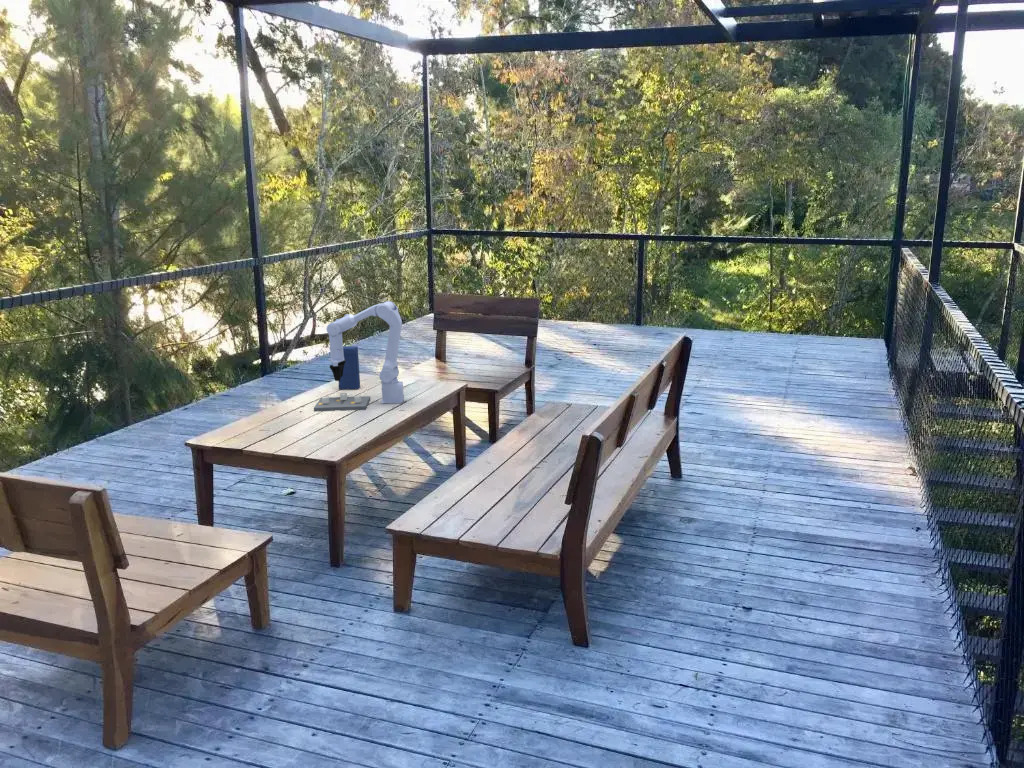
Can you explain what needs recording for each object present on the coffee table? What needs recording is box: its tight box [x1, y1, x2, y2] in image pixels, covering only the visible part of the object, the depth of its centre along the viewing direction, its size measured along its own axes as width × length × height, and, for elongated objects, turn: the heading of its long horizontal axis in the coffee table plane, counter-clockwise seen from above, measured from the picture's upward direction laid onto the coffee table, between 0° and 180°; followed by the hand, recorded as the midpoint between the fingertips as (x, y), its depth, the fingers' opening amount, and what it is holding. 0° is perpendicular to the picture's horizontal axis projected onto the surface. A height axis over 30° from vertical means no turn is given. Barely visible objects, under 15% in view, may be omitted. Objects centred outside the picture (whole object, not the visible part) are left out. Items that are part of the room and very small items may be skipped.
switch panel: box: [313, 395, 372, 412], centre depth 388 cm, size 22×18×2 cm
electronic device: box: [337, 345, 361, 390], centre depth 417 cm, size 10×5×20 cm, turn 84°
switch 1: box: [321, 396, 330, 404], centre depth 385 cm, size 2×3×3 cm
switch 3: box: [353, 394, 362, 403], centre depth 386 cm, size 2×3×3 cm
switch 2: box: [339, 392, 348, 400], centre depth 390 cm, size 2×3×3 cm
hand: (338, 378), depth 394 cm, fingers open, 7 cm apart
